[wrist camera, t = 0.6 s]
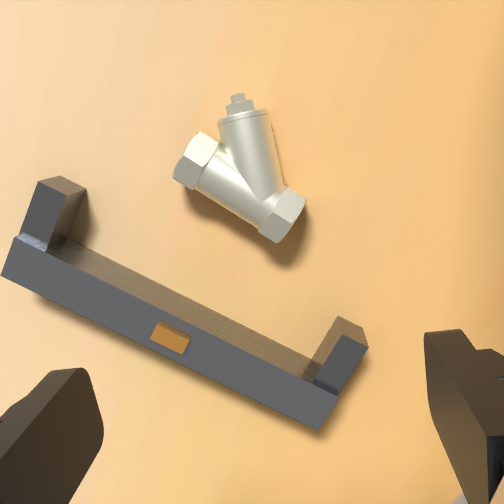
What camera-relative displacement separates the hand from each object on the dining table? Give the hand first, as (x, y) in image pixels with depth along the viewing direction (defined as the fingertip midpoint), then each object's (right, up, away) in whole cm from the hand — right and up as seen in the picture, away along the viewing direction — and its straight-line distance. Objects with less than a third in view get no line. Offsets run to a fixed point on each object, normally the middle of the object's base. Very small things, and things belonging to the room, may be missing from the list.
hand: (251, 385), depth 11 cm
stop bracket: (-4, 0, +24) cm, 24 cm away
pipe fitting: (0, +9, +21) cm, 23 cm away
